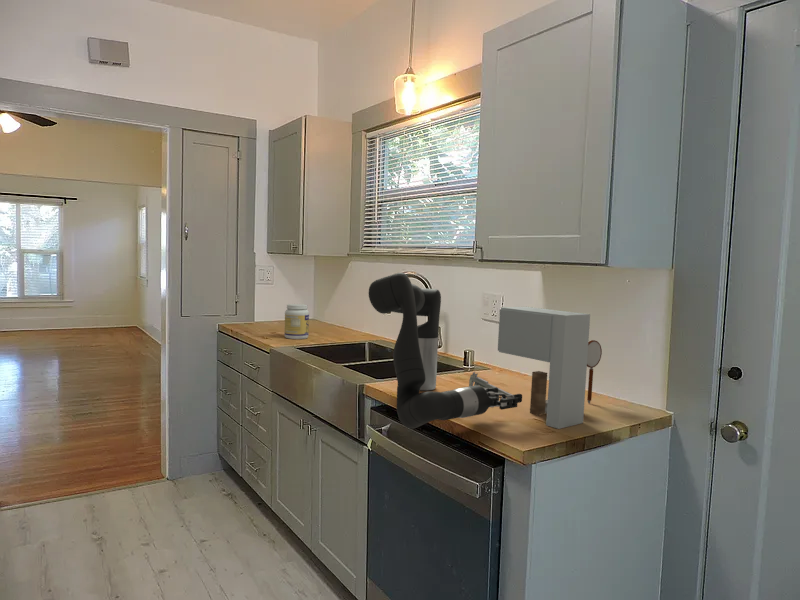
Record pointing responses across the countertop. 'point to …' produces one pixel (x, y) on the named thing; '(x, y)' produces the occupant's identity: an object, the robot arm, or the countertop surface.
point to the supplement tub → (296, 321)
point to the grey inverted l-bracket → (551, 355)
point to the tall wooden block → (538, 393)
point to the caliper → (483, 383)
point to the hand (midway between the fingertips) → (508, 394)
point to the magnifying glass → (592, 362)
